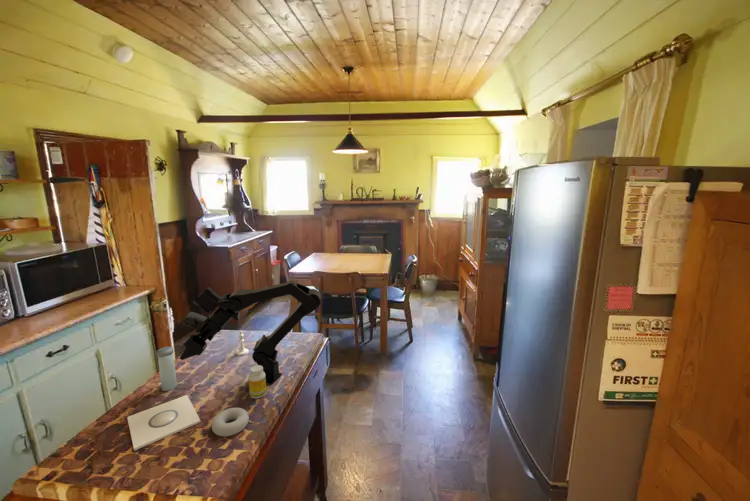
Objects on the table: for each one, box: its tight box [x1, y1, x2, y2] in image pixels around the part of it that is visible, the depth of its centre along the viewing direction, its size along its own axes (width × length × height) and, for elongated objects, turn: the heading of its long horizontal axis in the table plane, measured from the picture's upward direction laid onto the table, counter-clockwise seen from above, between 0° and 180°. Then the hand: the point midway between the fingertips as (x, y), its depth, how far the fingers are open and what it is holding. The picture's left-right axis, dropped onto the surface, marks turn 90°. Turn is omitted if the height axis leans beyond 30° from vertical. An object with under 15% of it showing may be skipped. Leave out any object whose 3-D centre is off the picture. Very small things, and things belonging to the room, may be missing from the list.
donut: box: [211, 407, 250, 438], centre depth 94 cm, size 10×4×10 cm
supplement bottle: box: [248, 364, 267, 399], centre depth 108 cm, size 5×5×10 cm
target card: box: [127, 394, 201, 451], centre depth 96 cm, size 16×16×1 cm
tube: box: [156, 346, 178, 392], centre depth 111 cm, size 5×5×14 cm
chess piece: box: [236, 330, 250, 357], centre depth 135 cm, size 5×5×10 cm
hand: (186, 352), depth 111 cm, fingers open, 9 cm apart
